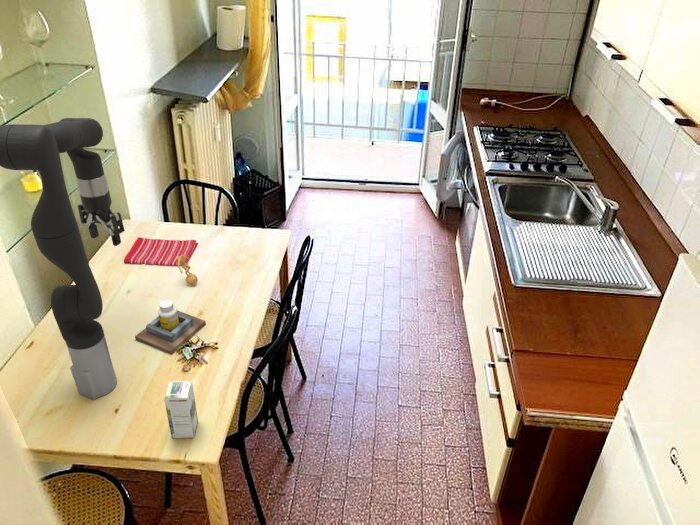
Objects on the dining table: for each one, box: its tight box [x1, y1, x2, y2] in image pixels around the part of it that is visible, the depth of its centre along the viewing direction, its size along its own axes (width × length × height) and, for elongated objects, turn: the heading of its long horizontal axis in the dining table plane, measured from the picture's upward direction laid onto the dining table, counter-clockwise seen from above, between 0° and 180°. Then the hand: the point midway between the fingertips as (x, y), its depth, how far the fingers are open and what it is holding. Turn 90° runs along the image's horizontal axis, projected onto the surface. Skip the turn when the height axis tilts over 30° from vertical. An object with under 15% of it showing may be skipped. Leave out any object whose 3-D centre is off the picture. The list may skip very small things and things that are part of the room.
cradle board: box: [134, 310, 207, 355], centre depth 175 cm, size 16×14×4 cm
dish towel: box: [123, 236, 199, 267], centre depth 214 cm, size 17×24×3 cm
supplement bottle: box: [157, 299, 179, 332], centre depth 173 cm, size 5×5×10 cm
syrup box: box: [163, 380, 199, 439], centre depth 141 cm, size 6×6×14 cm
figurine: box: [177, 255, 198, 286], centre depth 195 cm, size 8×6×12 cm
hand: (106, 240), depth 163 cm, fingers open, 8 cm apart
